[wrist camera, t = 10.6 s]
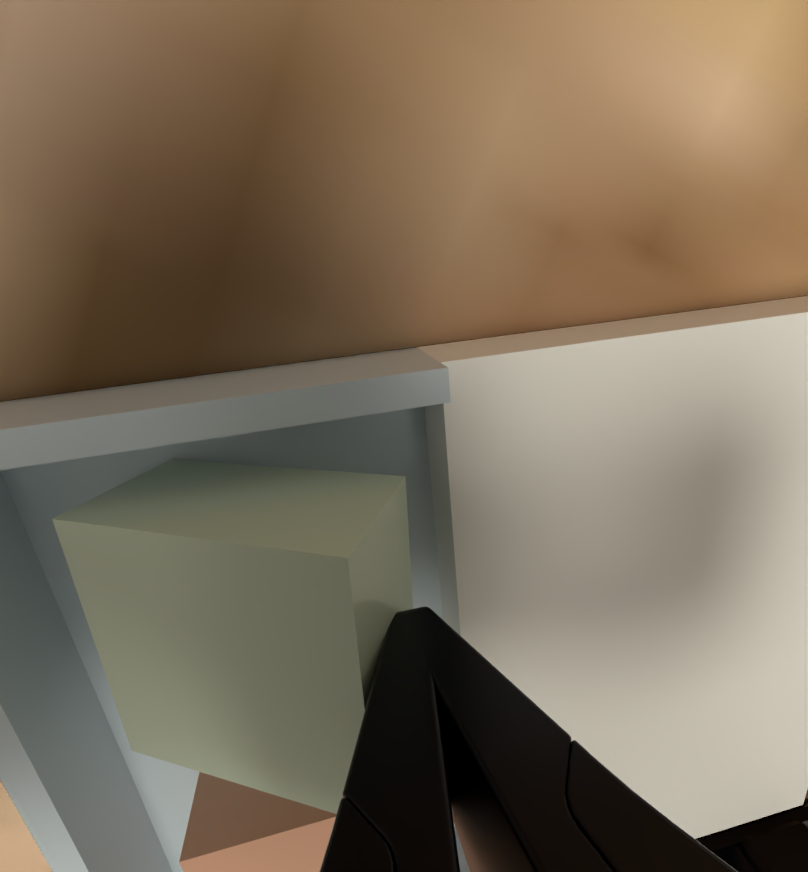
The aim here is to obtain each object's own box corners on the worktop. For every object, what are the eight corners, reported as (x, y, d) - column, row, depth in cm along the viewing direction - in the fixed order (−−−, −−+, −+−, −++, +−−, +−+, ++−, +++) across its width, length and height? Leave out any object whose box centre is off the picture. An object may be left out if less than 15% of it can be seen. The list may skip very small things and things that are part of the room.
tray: (459, 830, 15) (486, 929, 13) (175, 913, 14) (148, 1039, 12) (416, 346, 10) (448, 367, 8) (-52, 408, 9) (-186, 455, 6)
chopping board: (748, 746, 17) (802, 804, 15) (459, 830, 15) (480, 907, 13) (844, 291, 12) (947, 292, 10) (416, 346, 10) (440, 362, 8)
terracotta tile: (415, 819, 14) (435, 923, 12) (250, 868, 14) (237, 989, 11) (394, 699, 13) (413, 794, 10) (204, 748, 12) (179, 861, 10)
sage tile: (418, 695, 10) (377, 827, 7) (217, 652, 11) (131, 750, 9) (405, 476, 8) (347, 558, 6) (171, 459, 9) (51, 518, 7)
